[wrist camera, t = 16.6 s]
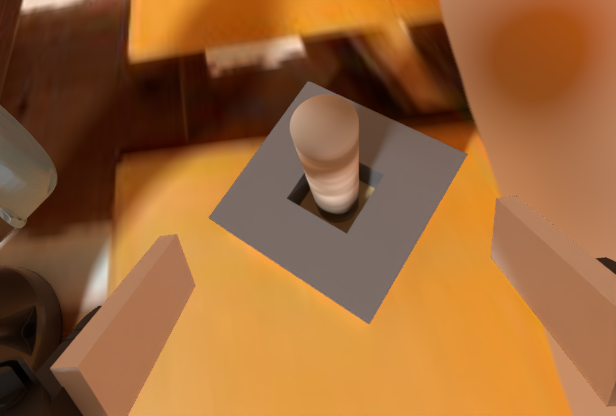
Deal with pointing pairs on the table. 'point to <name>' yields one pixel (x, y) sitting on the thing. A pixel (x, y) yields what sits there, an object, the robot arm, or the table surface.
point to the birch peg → (329, 153)
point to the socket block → (354, 232)
